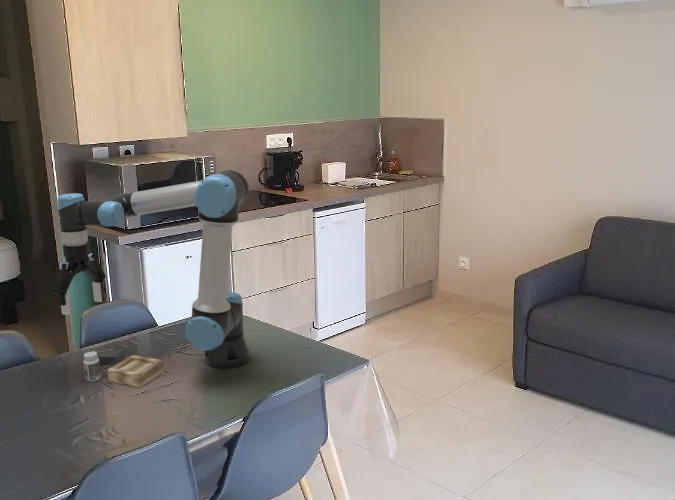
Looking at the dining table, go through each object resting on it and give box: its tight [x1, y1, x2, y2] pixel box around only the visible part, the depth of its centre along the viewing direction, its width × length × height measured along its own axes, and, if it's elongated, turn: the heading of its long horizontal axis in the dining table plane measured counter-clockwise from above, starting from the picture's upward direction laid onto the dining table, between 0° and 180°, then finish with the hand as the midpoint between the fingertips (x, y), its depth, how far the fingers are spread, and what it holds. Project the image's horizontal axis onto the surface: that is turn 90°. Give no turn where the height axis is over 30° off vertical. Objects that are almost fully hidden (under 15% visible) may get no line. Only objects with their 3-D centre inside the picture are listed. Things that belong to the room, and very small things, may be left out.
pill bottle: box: [82, 351, 102, 382], centre depth 202 cm, size 5×5×8 cm
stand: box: [106, 354, 165, 388], centre depth 204 cm, size 12×12×4 cm
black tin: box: [98, 349, 124, 365], centre depth 216 cm, size 6×6×3 cm
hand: (82, 307), depth 206 cm, fingers open, 13 cm apart
